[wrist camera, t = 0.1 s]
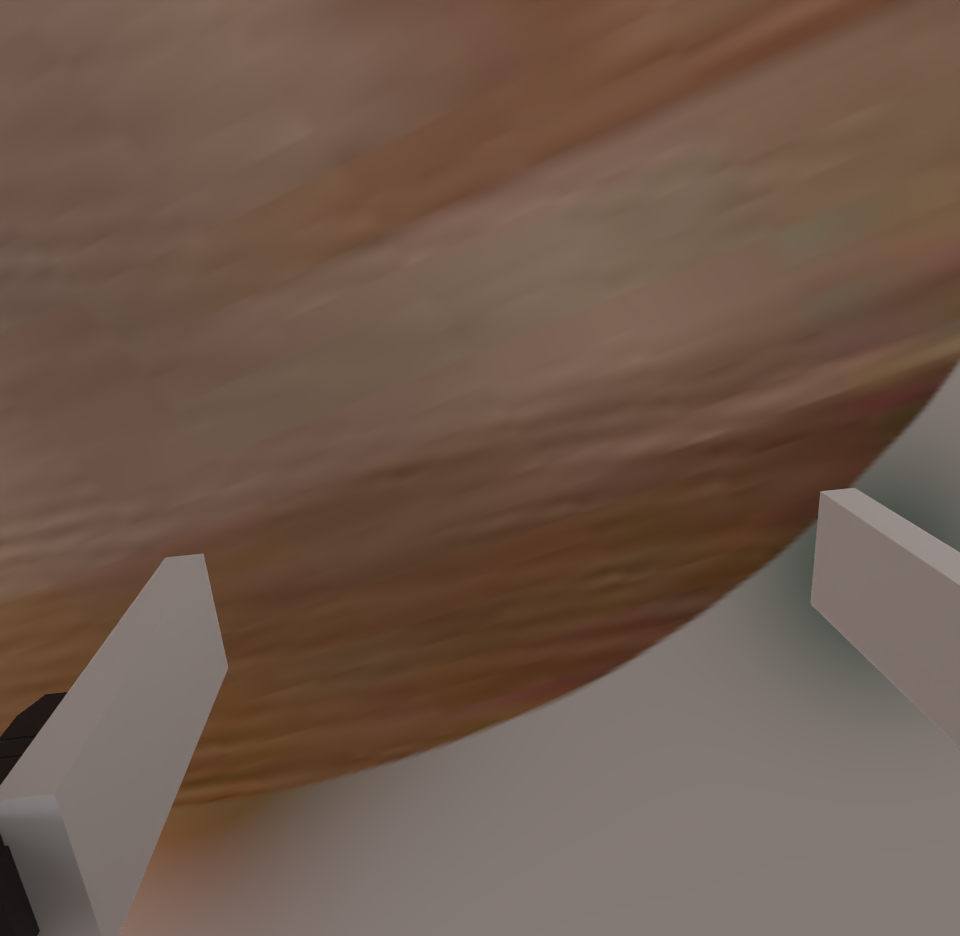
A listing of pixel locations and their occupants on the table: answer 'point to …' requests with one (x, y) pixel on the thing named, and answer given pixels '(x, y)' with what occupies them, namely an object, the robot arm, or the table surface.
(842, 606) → the robot arm
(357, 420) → the table surface
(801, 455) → the table surface
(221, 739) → the table surface
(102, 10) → the table surface
